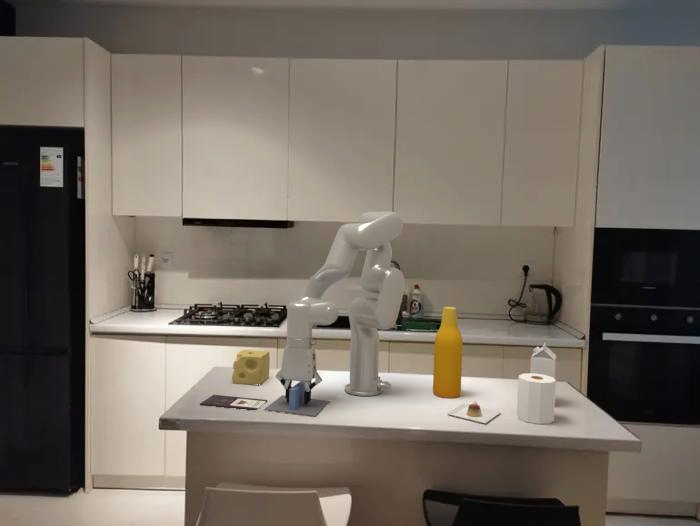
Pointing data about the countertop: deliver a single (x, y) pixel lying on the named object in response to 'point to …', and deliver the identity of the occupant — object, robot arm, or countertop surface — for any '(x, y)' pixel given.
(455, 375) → the beer bottle
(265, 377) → the cheese
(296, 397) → the card box
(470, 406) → the dessert
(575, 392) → the countertop surface
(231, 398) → the chocolate bar
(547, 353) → the milk carton
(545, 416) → the toilet paper
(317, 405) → the mat
